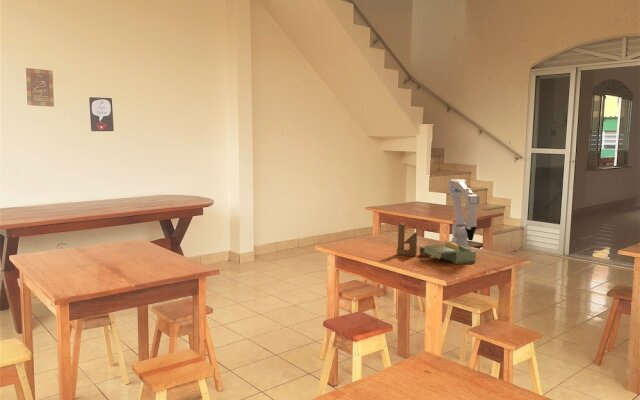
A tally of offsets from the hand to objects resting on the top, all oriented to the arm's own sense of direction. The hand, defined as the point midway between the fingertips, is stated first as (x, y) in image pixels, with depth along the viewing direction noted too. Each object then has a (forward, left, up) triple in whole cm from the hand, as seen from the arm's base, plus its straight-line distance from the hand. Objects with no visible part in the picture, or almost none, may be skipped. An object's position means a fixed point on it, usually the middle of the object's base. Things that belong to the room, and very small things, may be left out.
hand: (470, 240), depth 296 cm
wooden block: (-16, -31, -11) cm, 37 cm away
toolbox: (+1, -8, -10) cm, 13 cm away
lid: (+1, -18, -7) cm, 19 cm away
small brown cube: (-12, -21, -11) cm, 27 cm away
